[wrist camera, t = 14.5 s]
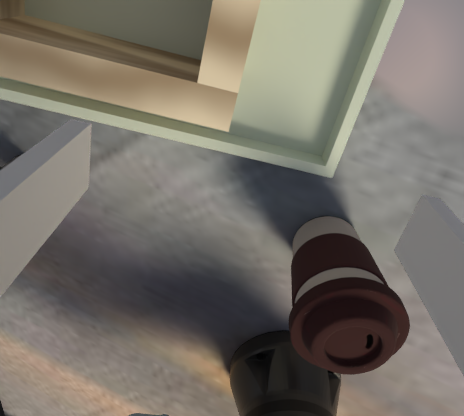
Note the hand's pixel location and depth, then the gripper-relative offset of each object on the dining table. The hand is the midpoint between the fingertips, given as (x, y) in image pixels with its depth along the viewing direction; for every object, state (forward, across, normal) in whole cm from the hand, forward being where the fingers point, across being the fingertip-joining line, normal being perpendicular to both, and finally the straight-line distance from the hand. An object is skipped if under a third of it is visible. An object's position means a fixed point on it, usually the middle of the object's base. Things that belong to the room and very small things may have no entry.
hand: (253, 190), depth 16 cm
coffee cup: (+24, -12, +16) cm, 31 cm away
